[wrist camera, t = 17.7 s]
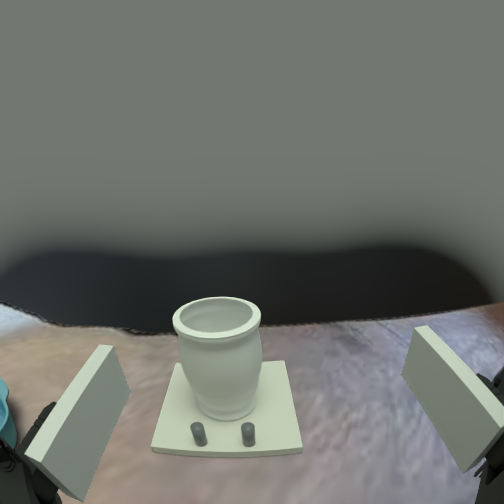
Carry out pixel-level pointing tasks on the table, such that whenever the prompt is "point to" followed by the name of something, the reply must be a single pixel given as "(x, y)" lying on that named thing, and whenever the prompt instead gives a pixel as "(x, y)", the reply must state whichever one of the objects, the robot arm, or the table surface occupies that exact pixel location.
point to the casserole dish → (6, 417)
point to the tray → (234, 431)
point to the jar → (220, 354)
